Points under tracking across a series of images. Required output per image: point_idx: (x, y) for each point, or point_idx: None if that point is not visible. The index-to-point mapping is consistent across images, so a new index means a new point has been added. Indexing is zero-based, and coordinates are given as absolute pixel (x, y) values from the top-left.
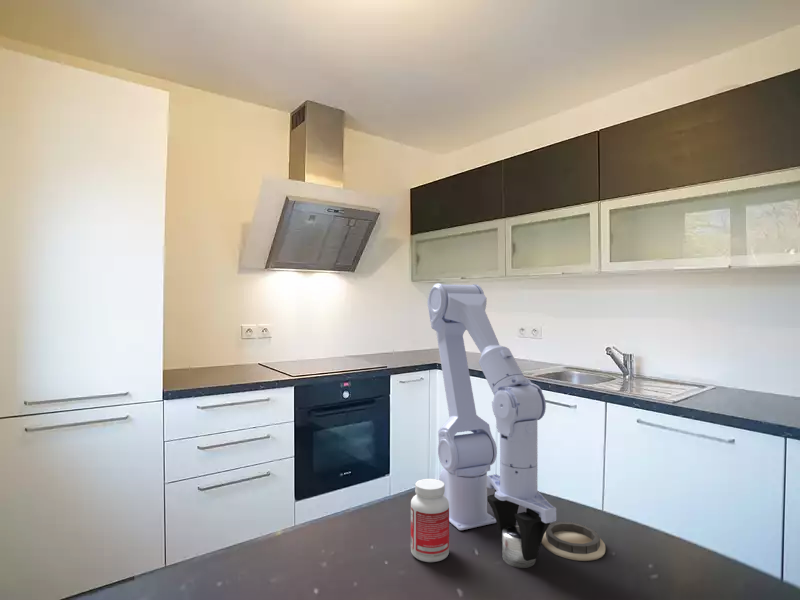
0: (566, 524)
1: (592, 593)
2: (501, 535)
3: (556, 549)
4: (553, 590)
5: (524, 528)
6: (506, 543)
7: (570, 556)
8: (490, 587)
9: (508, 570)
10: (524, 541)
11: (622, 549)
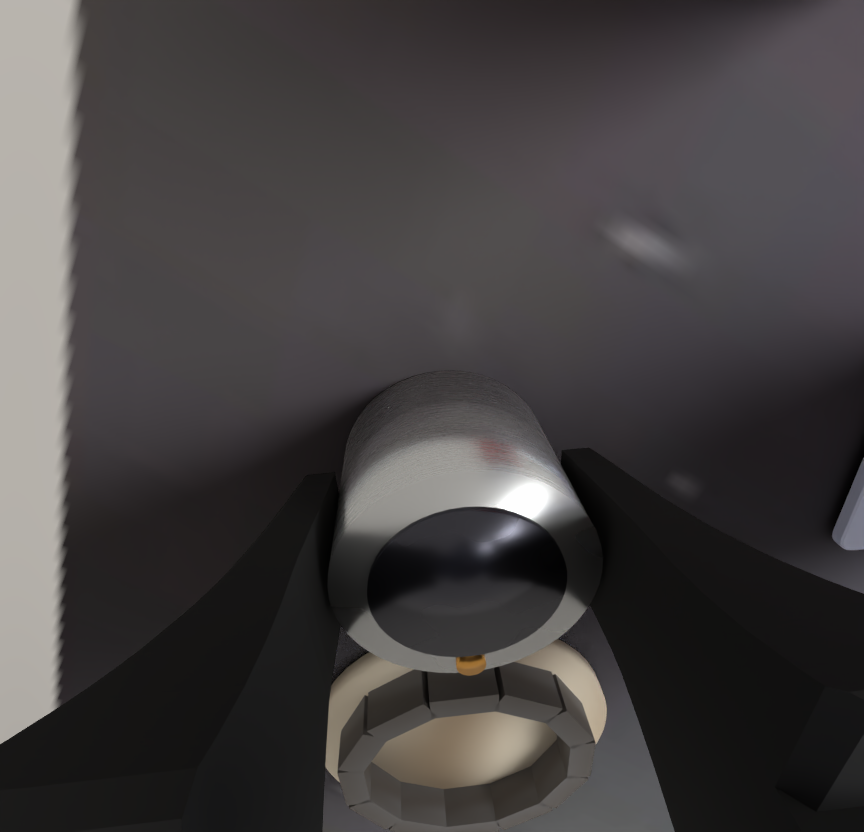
0: (554, 785)
1: (58, 612)
2: (591, 469)
3: None
4: (93, 472)
5: (103, 691)
6: (442, 440)
7: (351, 676)
8: (162, 77)
9: (347, 339)
10: (252, 562)
11: (360, 819)
